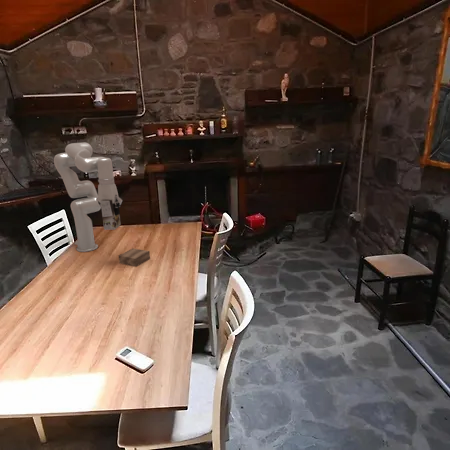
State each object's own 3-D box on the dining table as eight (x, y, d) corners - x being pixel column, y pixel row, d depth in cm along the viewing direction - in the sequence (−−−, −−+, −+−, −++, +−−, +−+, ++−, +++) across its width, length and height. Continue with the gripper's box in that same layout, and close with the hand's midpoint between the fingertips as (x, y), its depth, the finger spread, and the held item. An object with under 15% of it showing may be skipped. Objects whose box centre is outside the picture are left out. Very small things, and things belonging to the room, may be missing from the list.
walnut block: (119, 263, 196) (118, 255, 195) (133, 256, 206) (132, 248, 205) (136, 267, 191) (135, 258, 190) (150, 259, 201) (149, 251, 200)
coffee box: (115, 229, 187) (111, 200, 182) (103, 230, 187) (99, 200, 183) (121, 224, 196) (117, 196, 191) (109, 225, 196) (106, 196, 191)
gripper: (88, 182, 184) (93, 214, 189) (115, 183, 178) (119, 217, 183) (98, 180, 191) (103, 211, 196) (124, 181, 184) (128, 213, 189)
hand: (111, 213), depth 189 cm, fingers closed on coffee box, 8 cm apart
